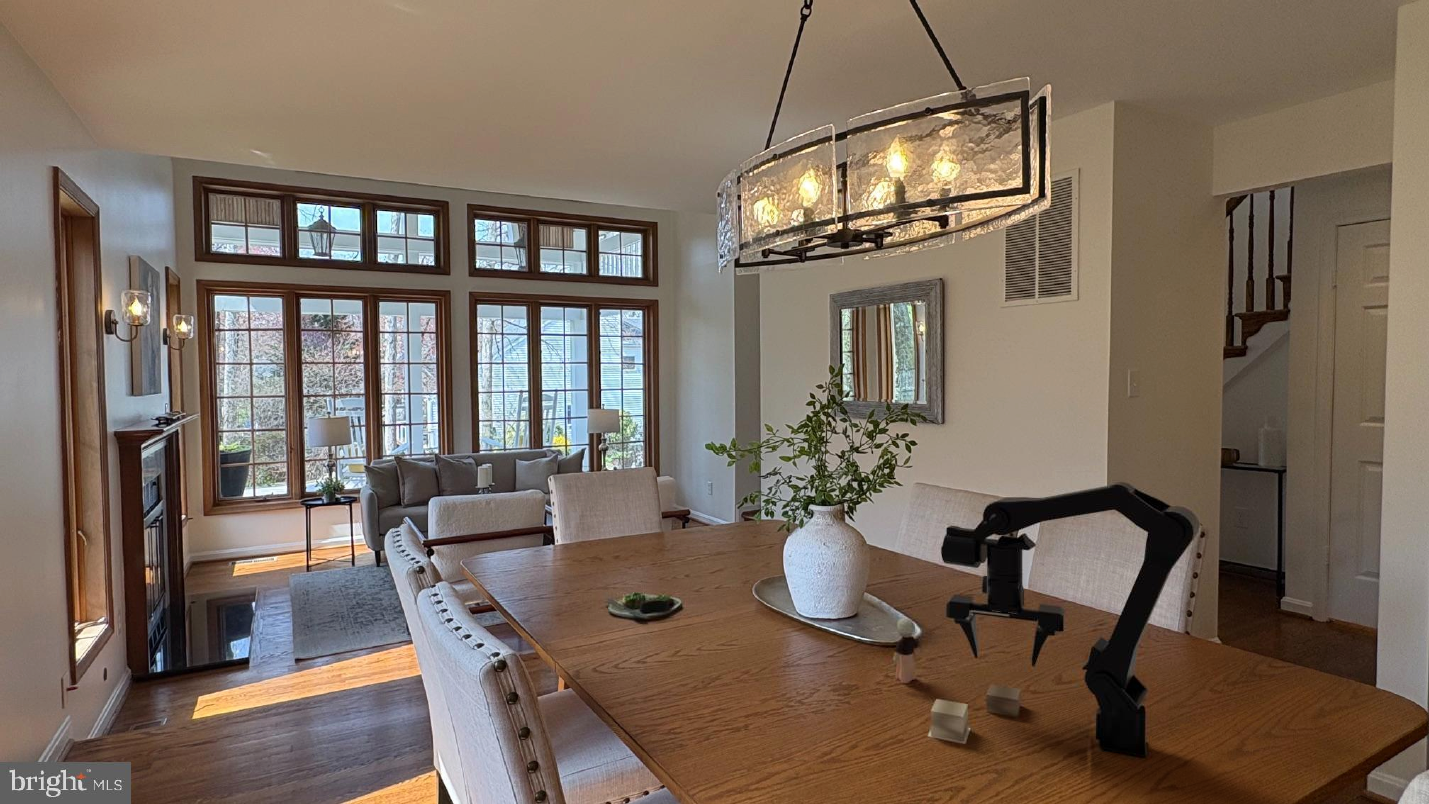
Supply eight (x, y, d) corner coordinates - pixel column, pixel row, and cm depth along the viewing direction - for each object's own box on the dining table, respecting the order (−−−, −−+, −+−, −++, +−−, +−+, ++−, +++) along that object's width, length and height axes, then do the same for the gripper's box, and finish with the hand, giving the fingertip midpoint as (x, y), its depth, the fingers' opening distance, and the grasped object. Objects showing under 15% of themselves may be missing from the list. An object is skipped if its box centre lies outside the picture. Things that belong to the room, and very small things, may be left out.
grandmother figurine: (904, 676, 149) (905, 611, 149) (923, 681, 147) (923, 615, 146) (886, 688, 143) (886, 622, 143) (905, 694, 141) (905, 626, 140)
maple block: (967, 728, 125) (967, 704, 125) (963, 741, 121) (963, 716, 120) (936, 722, 127) (936, 698, 127) (930, 735, 123) (930, 710, 123)
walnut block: (1020, 711, 134) (1020, 688, 133) (1017, 723, 129) (1017, 699, 129) (990, 706, 136) (990, 684, 136) (986, 717, 131) (986, 694, 131)
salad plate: (586, 615, 190) (586, 597, 189) (626, 596, 205) (626, 579, 205) (653, 626, 181) (653, 607, 181) (689, 606, 197) (689, 588, 197)
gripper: (1065, 566, 135) (1065, 654, 135) (955, 556, 143) (956, 639, 143) (1063, 582, 125) (1063, 676, 125) (945, 570, 133) (945, 659, 133)
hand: (1004, 661), depth 132 cm, fingers open, 9 cm apart
